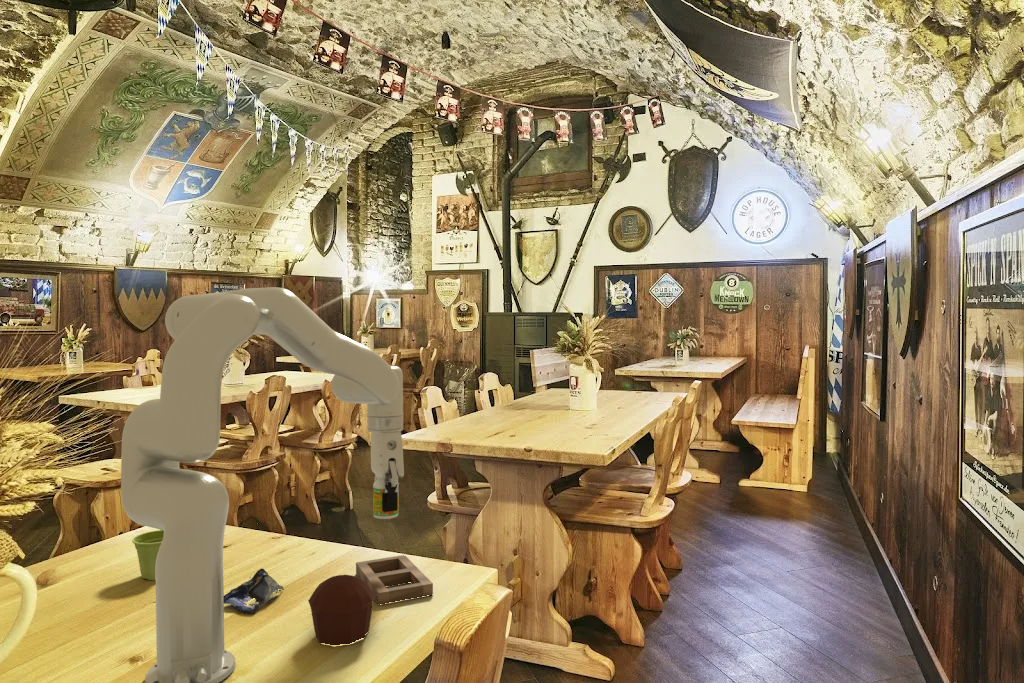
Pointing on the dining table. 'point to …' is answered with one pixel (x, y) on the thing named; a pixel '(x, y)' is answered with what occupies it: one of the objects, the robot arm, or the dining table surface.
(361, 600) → the muffin
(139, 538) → the plant pot
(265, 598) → the snack package
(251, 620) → the dining table surface
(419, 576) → the bottle rack
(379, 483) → the supplement bottle
